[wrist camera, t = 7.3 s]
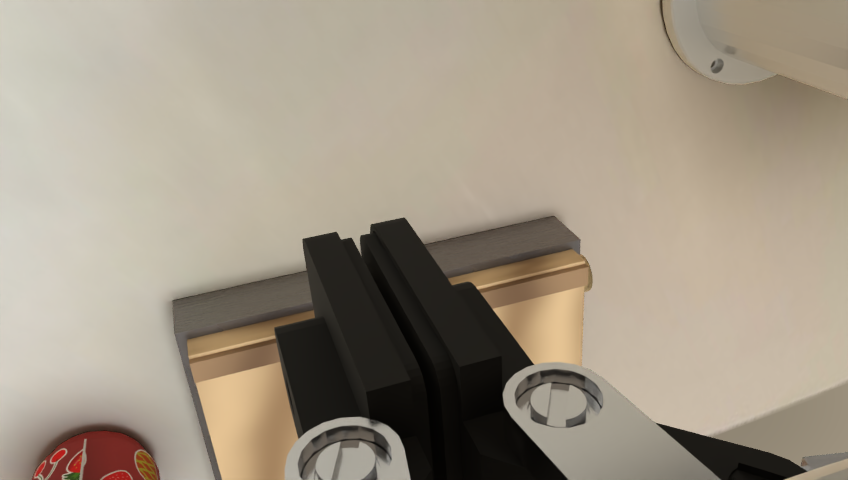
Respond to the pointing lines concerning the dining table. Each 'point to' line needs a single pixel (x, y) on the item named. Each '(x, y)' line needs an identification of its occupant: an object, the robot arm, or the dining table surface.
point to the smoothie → (98, 459)
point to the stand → (295, 297)
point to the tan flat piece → (256, 344)
